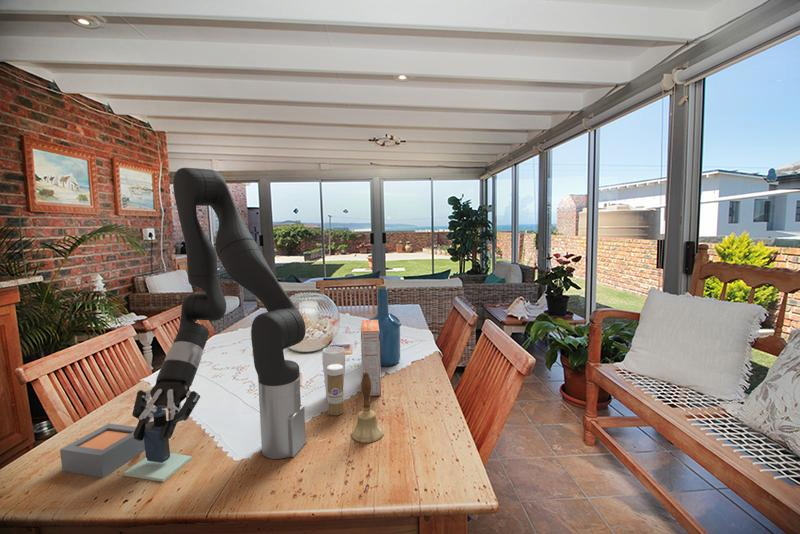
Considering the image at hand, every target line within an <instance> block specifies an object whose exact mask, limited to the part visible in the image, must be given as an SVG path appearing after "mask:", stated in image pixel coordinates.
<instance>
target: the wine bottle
mask: <svg viewBox="0 0 800 534" xmlns="http://www.w3.org/2000/svg"><path fill="white" fill-rule="evenodd" d="M378 286H379V287H377V294H376V295H377V296H376V298H377V299H376V300H377V306H376V307H377V308H376V310H377V311H376V315H374V316H372V317H370V318H369V319H368V320H378V325H379V332H380V367H389V366H393V365H396V364H397V363H399V362H400V360H401V327H402V322H401V321H400V319H399V318H398V317H397V316H395V315H394V314H392V313H389V293H388V292H389V291H388V288H387V286H386V284H379V285H378Z"/></svg>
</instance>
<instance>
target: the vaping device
mask: <svg viewBox="0 0 800 534" xmlns="http://www.w3.org/2000/svg"><path fill="white" fill-rule="evenodd" d="M152 419H153V420H150V422H148V423H146V424H145V429H144V432H145V435H144V445H145V451H144V452H145V453H144V454H145V458H147V461H152V462H159V463H163V462H165V461H166V460H168V459H169V457H170V453H171V451H170V438H169V439H168V441H162V440H160V436H161V433H162V431H163V428H164V425H165V423H166V421H168V418H167V410H166V409H162V407H158V408H156V411H155V412H154V413H153V418H152ZM143 434H144V433H143Z"/></svg>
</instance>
